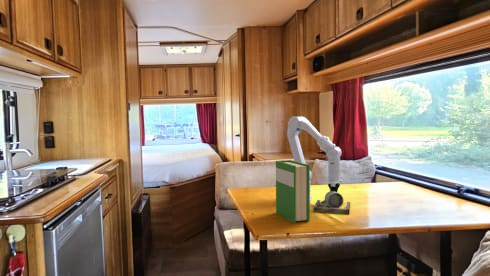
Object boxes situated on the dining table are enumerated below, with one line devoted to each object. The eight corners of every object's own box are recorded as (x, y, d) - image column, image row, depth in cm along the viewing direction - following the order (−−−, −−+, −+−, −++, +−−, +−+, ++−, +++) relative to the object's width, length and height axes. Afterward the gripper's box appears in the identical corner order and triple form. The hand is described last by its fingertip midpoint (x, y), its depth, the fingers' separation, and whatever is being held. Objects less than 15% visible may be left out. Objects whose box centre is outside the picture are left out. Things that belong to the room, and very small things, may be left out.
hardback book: (309, 221, 153) (309, 164, 151) (293, 223, 150) (293, 165, 149) (290, 211, 169) (290, 160, 168) (276, 212, 167) (275, 160, 165)
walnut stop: (313, 211, 168) (313, 207, 168) (317, 203, 182) (317, 200, 182) (349, 214, 163) (349, 209, 163) (350, 206, 178) (350, 201, 178)
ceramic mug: (338, 204, 181) (338, 189, 180) (343, 208, 173) (343, 192, 172) (317, 205, 180) (317, 190, 180) (321, 209, 172) (321, 193, 172)
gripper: (341, 173, 173) (341, 201, 174) (343, 169, 187) (342, 195, 188) (326, 173, 175) (326, 201, 176) (328, 168, 189) (328, 194, 190)
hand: (333, 198), depth 182 cm, fingers closed
